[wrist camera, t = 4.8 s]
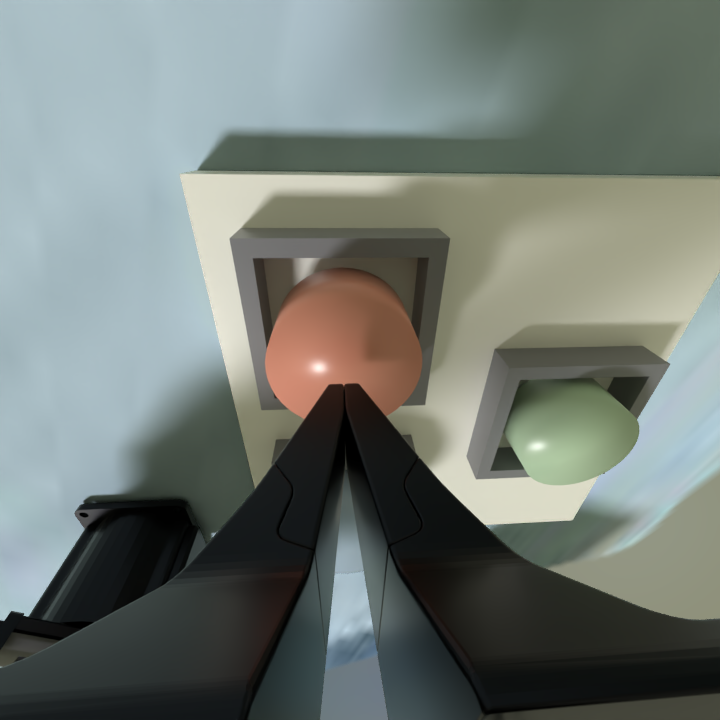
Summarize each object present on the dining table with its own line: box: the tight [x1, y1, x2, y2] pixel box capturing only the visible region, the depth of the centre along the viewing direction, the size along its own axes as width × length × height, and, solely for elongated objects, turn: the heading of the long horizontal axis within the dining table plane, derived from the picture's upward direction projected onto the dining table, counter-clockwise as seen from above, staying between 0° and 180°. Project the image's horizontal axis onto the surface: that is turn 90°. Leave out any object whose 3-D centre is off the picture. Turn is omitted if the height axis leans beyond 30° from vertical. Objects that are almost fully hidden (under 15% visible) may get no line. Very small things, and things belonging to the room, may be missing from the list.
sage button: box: [503, 378, 639, 485], centre depth 16 cm, size 5×5×2 cm
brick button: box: [265, 267, 422, 419], centre depth 12 cm, size 5×5×2 cm
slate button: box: [335, 470, 364, 574], centre depth 17 cm, size 5×5×2 cm
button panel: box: [180, 171, 720, 525], centre depth 17 cm, size 20×20×3 cm
